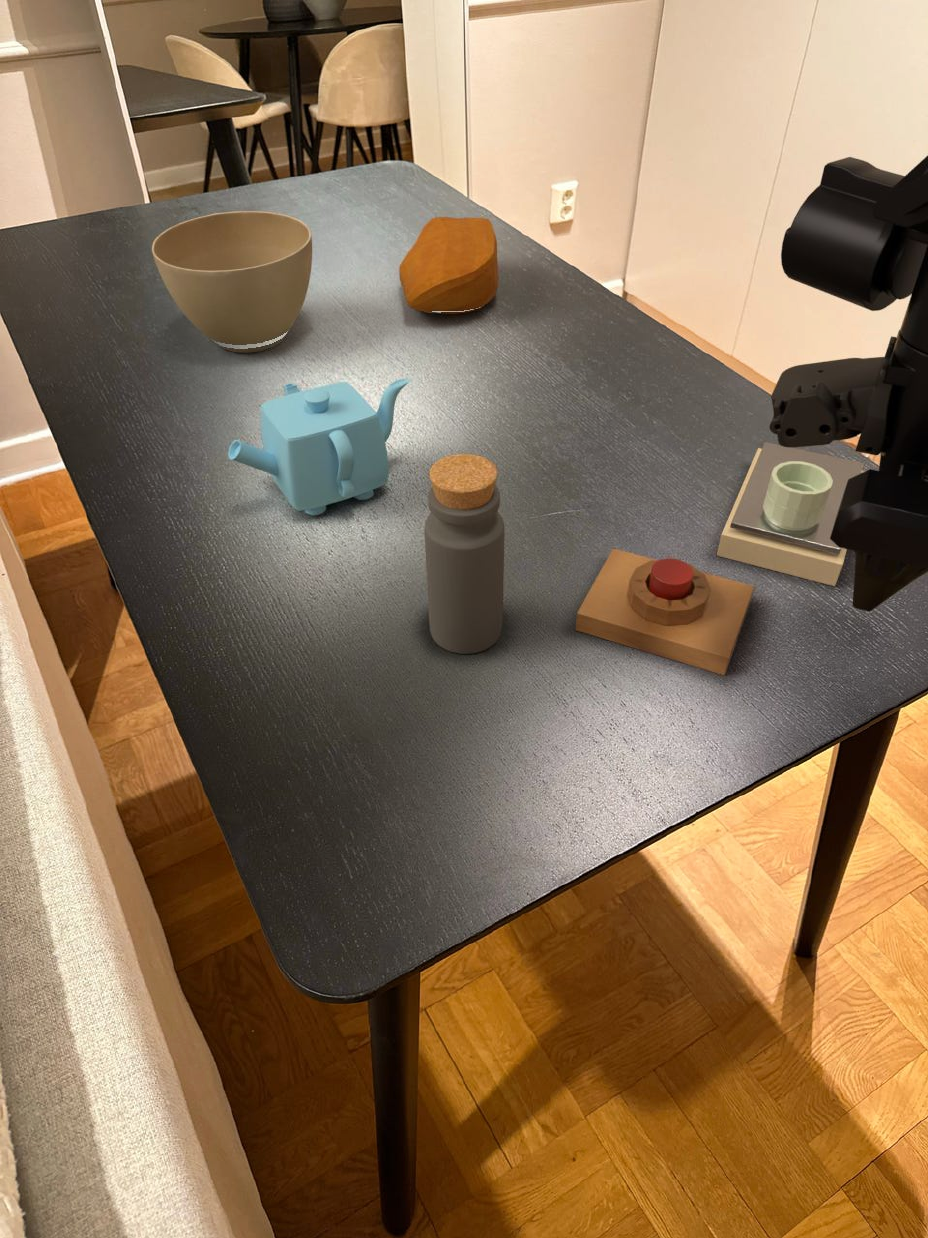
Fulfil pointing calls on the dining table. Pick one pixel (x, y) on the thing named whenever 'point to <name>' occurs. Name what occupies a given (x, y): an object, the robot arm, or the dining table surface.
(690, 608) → the block
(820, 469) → the mint green cup
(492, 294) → the bread
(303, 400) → the teapot
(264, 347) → the deep tan bowl
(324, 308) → the dining table surface
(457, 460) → the bottle
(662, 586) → the tare button
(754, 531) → the pan
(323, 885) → the dining table surface
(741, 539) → the scale
